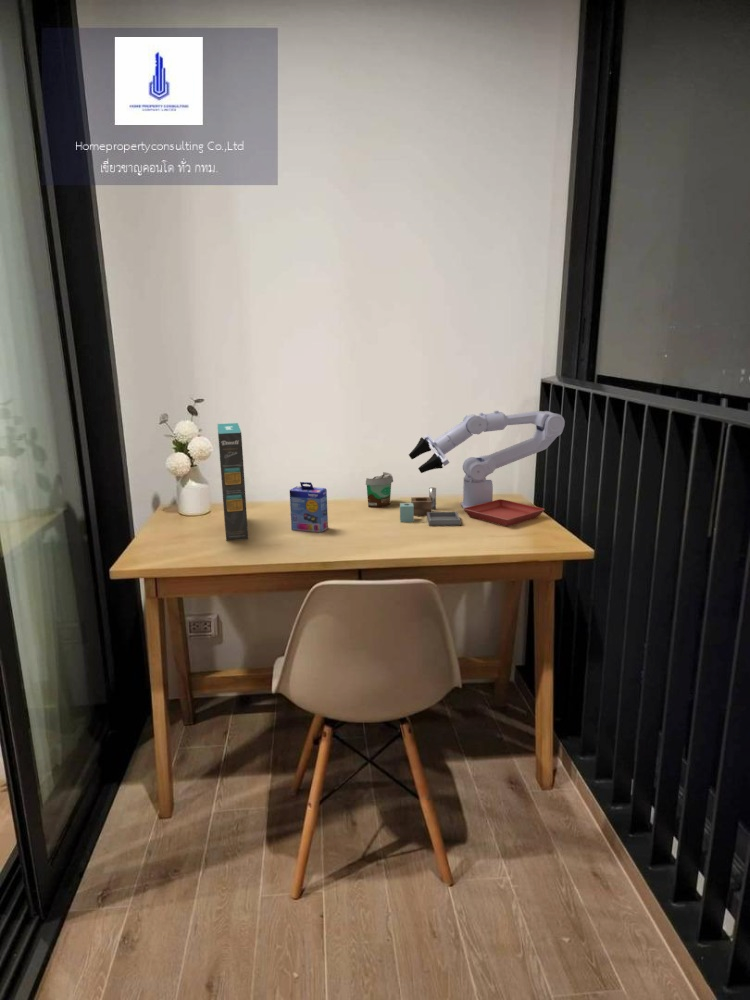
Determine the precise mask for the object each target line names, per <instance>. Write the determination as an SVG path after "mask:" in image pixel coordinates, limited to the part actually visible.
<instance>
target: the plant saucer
mask: <svg viewBox="0 0 750 1000" xmlns="http://www.w3.org/2000/svg"><path fill="white" fill-rule="evenodd" d="M462 509H463V511H464V512H465V513H466V515H468V516H469V517H470V518H472V519H476V520H480V521H483V522H487V523H491V524H494V525H498V526H502V527H507V528H508V527H511V526H514V525H518V524H521V523H525V522H527V521H531V520H535V519H537V518H538V517H539V516H541V514H542V513H544V511H545V508H543V507H539V506H533V505H529V504H525V503H520V502H516V501H510V500H506V499H501V498H500V499H496V500H492V501H491V502H487V503H483V504H479V505H475V506H470V507H466V508H463V507H462Z"/></svg>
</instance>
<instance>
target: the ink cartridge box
mask: <svg viewBox="0 0 750 1000" xmlns="http://www.w3.org/2000/svg"><path fill="white" fill-rule="evenodd" d="M299 483H300V486H295V487H293V488H291V489H289V505H290V506H289V507H290V525H291V526H290V527H291V530H292V531H302V532H303V531H304V532H312V533H322V532H324V531H325V530H327V529H328V528H329V520H328V519H329V517H328V516H329V515H328V514H329V513H328V494H327V488H325V487H314V485H313V484H312V482H307V481H305V482H304V481H300V482H299Z"/></svg>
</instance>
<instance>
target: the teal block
mask: <svg viewBox="0 0 750 1000" xmlns="http://www.w3.org/2000/svg"><path fill="white" fill-rule="evenodd" d="M414 517H415V516H414V506H413V503H411V502H400V503H399V521H400V523H414V520H415V518H414Z"/></svg>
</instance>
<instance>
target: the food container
mask: <svg viewBox="0 0 750 1000" xmlns="http://www.w3.org/2000/svg"><path fill="white" fill-rule="evenodd" d="M393 482H394V478H393V475H392V473H389V472H385V471H384V472H383V471H382V474H381V475H380V476H379V475H377V476H374V477H373V478H369V477H367V478H366V480H365V485H366V494H367V507H368V508H376V509H377V508H379V509H380V508H385V507H388V506H391V495H392V493H391V492H392V483H393Z"/></svg>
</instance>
